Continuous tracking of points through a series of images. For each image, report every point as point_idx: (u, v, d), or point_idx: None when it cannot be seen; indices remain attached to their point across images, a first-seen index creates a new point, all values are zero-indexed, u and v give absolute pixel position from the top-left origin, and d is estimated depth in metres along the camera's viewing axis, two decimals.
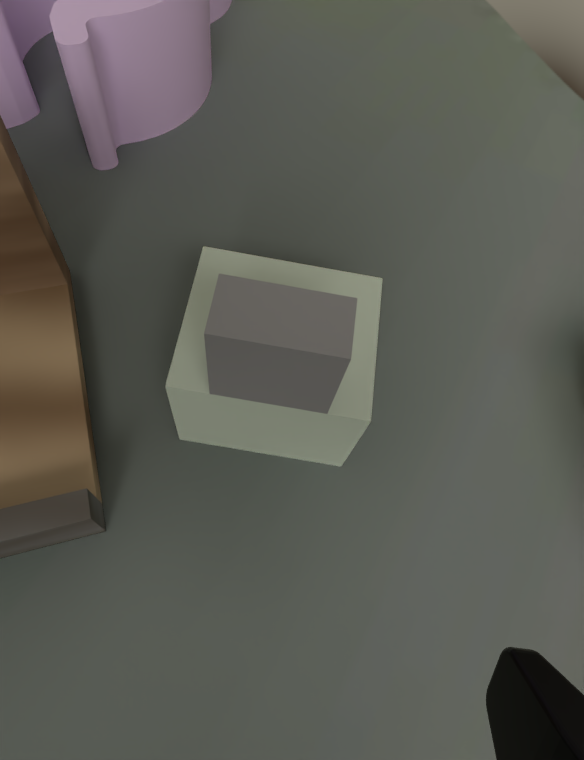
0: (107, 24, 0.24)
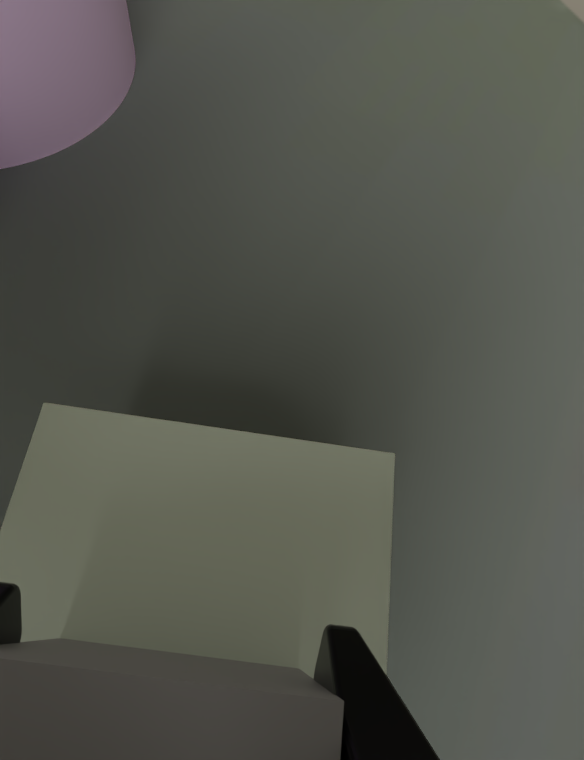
0: None
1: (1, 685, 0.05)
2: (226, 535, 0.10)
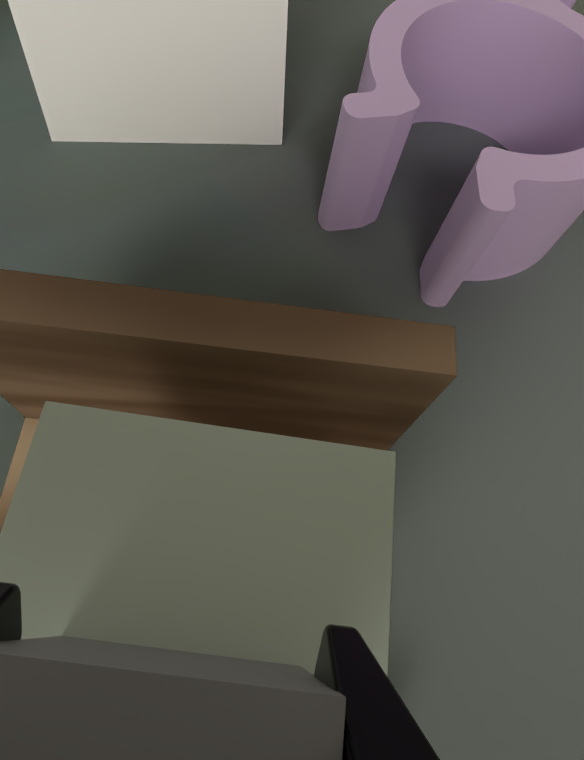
0: (530, 187, 0.21)
1: (4, 681, 0.05)
2: (228, 533, 0.10)
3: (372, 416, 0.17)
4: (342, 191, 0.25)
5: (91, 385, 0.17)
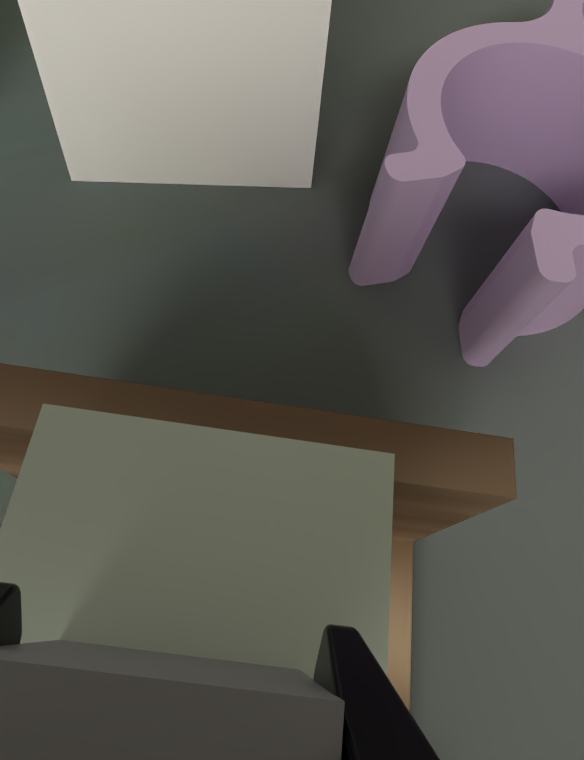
0: None
1: (0, 686, 0.05)
2: (226, 536, 0.10)
3: (411, 516, 0.16)
4: (378, 249, 0.23)
5: None
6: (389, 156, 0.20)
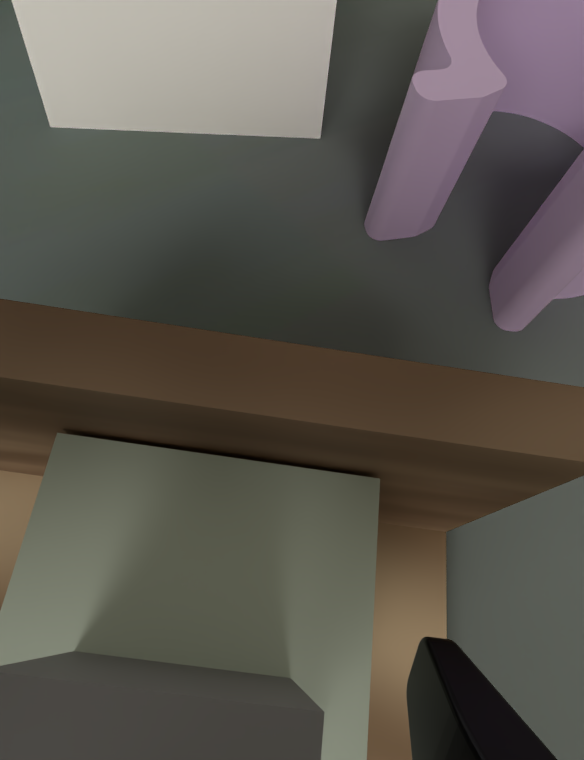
0: None
1: (33, 699, 0.06)
2: (225, 556, 0.11)
3: (454, 497, 0.13)
4: (400, 193, 0.20)
5: None
6: (418, 73, 0.17)
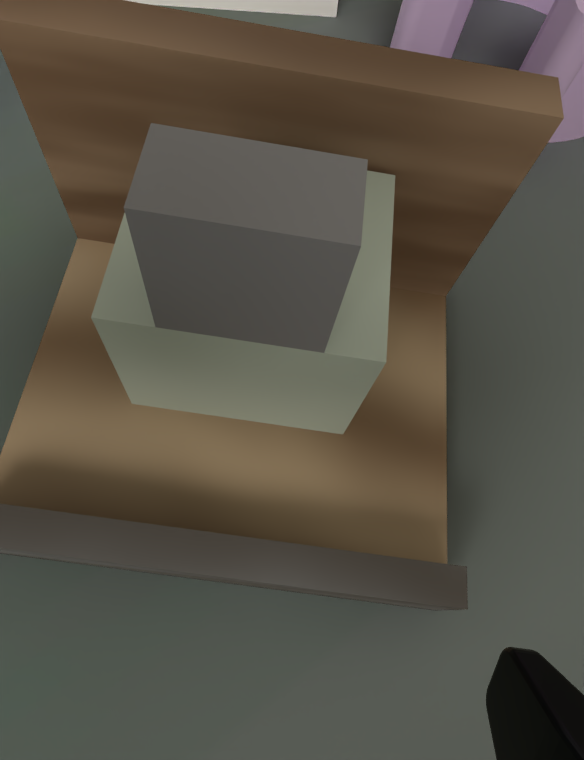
0: None
1: (186, 137, 0.10)
2: None
3: (452, 212, 0.16)
4: (413, 42, 0.24)
5: None
6: None
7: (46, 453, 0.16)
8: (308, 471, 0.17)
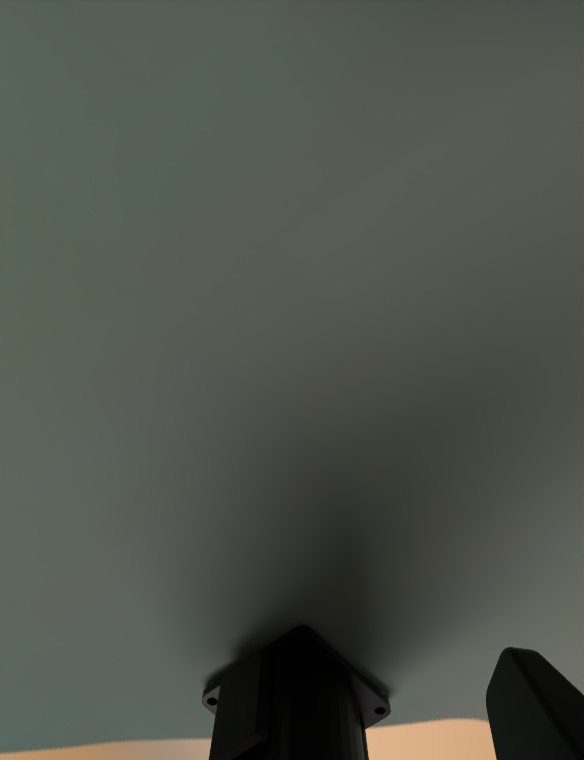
0: None
1: None
2: None
3: None
4: None
5: None
6: None
7: None
8: None
